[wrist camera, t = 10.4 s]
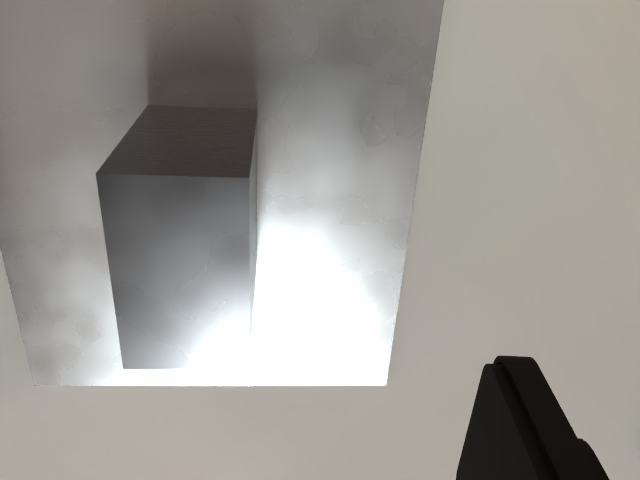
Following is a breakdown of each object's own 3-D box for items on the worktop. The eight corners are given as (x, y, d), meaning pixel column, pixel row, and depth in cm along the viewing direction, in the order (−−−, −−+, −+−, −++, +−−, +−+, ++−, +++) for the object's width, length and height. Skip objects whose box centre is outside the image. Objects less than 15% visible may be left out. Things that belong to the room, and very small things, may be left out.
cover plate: (447, -94, 14) (544, -108, 9) (381, 367, 22) (414, 505, 17) (-69, -131, 13) (-293, -172, 8) (44, 366, 21) (-36, 514, 15)
